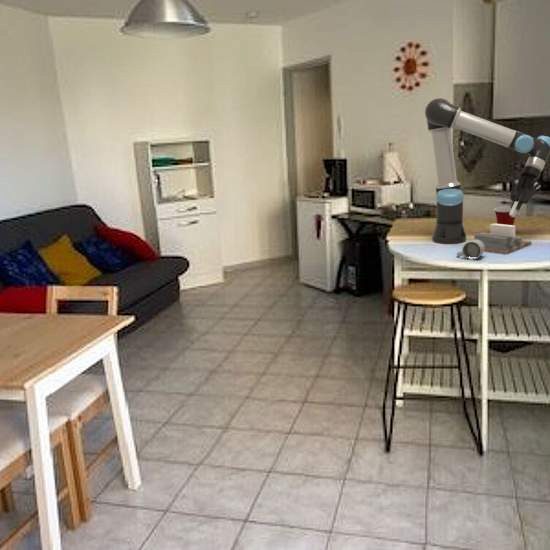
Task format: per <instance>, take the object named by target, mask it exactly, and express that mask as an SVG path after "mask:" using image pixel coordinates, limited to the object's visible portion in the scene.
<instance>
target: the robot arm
mask: <svg viewBox="0 0 550 550" xmlns="http://www.w3.org/2000/svg"><path fill="white" fill-rule="evenodd" d="M424 115H425V118H426V124H427V131H428V132H429V133H431V136H432V137H431V138H432V144H433V151H434V152H433V153H434V159H435V161H434V162H435V167H436V175H437V182H438V184H437V185H436V187H435V193H436V224H435V228H434V231H433V233H432V239H431V240H432V242H434V243H437V244H446V245H447V244H454V245H455V244H459V243H460V244H461V243H465V242H467V234H466V232H465V227H464V224H463V220H464V217H463V215H464V198H465V197H464V192H463V190H462V185H461V182H459V181H458V180H457V179H458V178H457V171H456V170H457V169H456V163H455V154H454V146H453V137H452V129H453V128H455V129H457V130H460V131H462V132H465V133H468V134H471V135H474V136H476V137H479V138H482V139H484V140H486V141H489V142H492V143H495V144H497V145H499V146H500V145H501V146H503V147H505V148H508V149H511V150H513V151H516V152H518V153H521V154H526V155H529V156H528V159H527V161H526V163H525V165H524V167H523V169H522V171H521V174H520V176H519V177H518V179H516V180H515V179H512V180H511V183H512V187H511V192H510V196H509V199H510V201H511V202H512V203H511V205H510V206H511V211H510V213H509V215H510V216H511V217H515V218H516V216H517V213H518V211H520V210H521V208H522V206H523V205H524V204H528V203H529V202H530V200H531V199H532V198H533V196H534V195H535V193H536V192H537V191H538V190H539V189H541V184H540V183H538V180H539V179H540V176H541V174H542V172H543V170H544V167H545V165H546V164H547V163H546V162H547V160H548V158H549V156H550V136H546V135H539V136H538V137H536V138H535V137H532V136H531V135H529V134H525V133H523V132H521V131H517V130H515V129H511V128H509V127H506V126H503V125H501V124H498V123H495V122H492V121H490V120H487V119H484V118H481V117H480V116H479V117H478V116H476V115H474V114H472V113H468V112H465V111H462V110H461V107H459V106H456V105H455V104H453V103H451V102H450V101H448V100H447V99H445V98H441V97H440V98H435V99H432V100H431V101H429V102H428V104H427V105H426V107H425V110H424ZM515 215H516V216H515Z"/></svg>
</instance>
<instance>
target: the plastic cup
mask: <svg viewBox="0 0 550 550" xmlns="http://www.w3.org/2000/svg"><path fill="white" fill-rule="evenodd" d="M493 211H494V213H495V216H496V218H495V219H496V222H497V223H496V224H505V225H514V224H515V220H516V217H517V214H516V215H515V217H511V216H510V215H509V213H510V211H511V205H509V206H508V205H504V206H499V207H495V208H494V209H493ZM514 226H515V225H514Z"/></svg>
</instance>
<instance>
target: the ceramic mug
mask: <svg viewBox="0 0 550 550" xmlns="http://www.w3.org/2000/svg"><path fill="white" fill-rule="evenodd" d="M484 250H485V245H484V243H483V242H482V241H480V240H476V239H475V240H474V239H472V240H469V241H468V242H467V241H466V243H464V244H463V246H462V248H461V251H458V252H457V253H456V255H457V257H458V256H459V257H458V258H460V257H463V256H464V258H466V259H467V257H469V256H470V257H477V258H475V260H477V259H478V258H480V257H481V256H482V255H483V254H484V252H485V251H484Z"/></svg>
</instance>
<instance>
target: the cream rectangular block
mask: <svg viewBox="0 0 550 550" xmlns="http://www.w3.org/2000/svg"><path fill="white" fill-rule="evenodd" d="M516 228H517V226H516V225H505V224H497V223H495V222H494V223H491V224H489V233H490V234H498V235H507V236H513V239H514V238H516Z"/></svg>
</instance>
